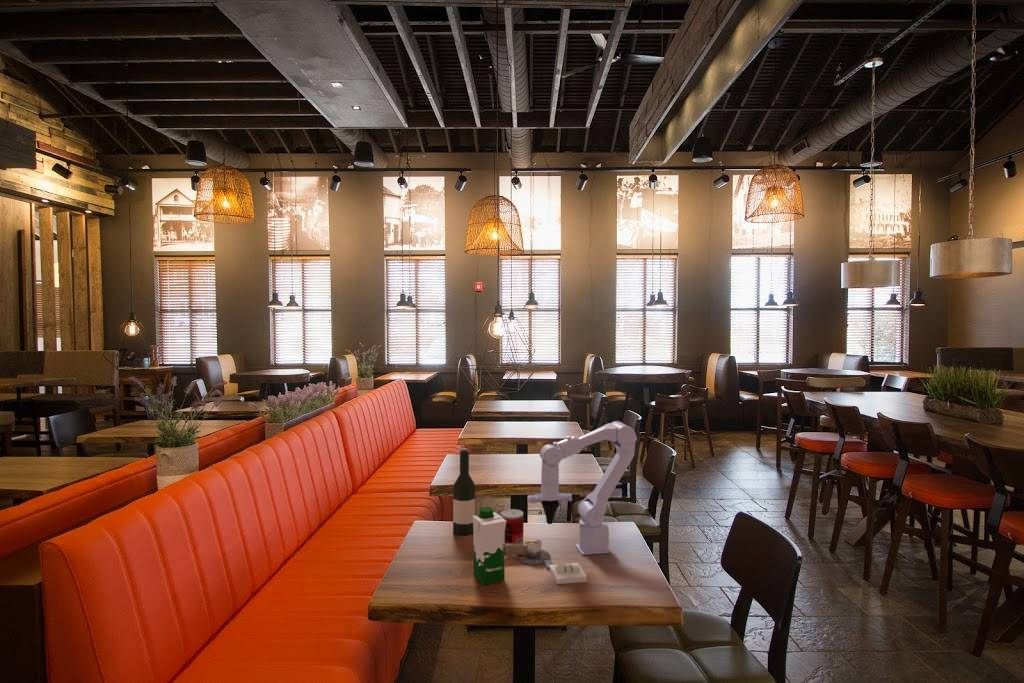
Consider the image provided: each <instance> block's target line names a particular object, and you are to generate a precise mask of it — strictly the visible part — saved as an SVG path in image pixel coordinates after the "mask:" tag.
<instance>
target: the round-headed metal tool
mask: <svg viewBox="0 0 1024 683" xmlns="http://www.w3.org/2000/svg"><path fill="white" fill-rule="evenodd" d="M541 550H542V540H540V539H537V538H528V539H527V540H525V542H523V543H505V544H504V557H505V556H516V555H526V557H528V558H531V559H534V558H540V557H541Z"/></svg>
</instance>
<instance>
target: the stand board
mask: <svg viewBox="0 0 1024 683" xmlns="http://www.w3.org/2000/svg"><path fill="white" fill-rule="evenodd" d="M548 571H549V572H550V573H551V575H552V576H551V577H553V579H554V582H555V583H556V585H562V584H563V585H564V584H573V583H574V584H576V583H585V582H587V581H588V576H587V575H586V573H585V572H584V570H583V569H582V567H581V566H580V564H579V562H574V563H560V564H553V565H549V570H548ZM587 583H588V582H587Z"/></svg>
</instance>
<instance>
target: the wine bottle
mask: <svg viewBox="0 0 1024 683" xmlns="http://www.w3.org/2000/svg"><path fill="white" fill-rule="evenodd" d="M452 487H453V488H452V490H453V491H452V492H453V493H452V494H453V495H452V501H453V502H452V506H453V508H452V534H453V535H456V536H459V537H464V536H465V537H469V536H471V535H473V533H474V532H473V516H476V483H475V482H474V480H473V479H472V477H471V475H470V450H469V449H468V448H465V447H461V449H460V450H459V475H458V477H457V478H456V480H455V482H454V483H453V486H452Z"/></svg>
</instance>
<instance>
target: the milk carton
mask: <svg viewBox="0 0 1024 683" xmlns="http://www.w3.org/2000/svg"><path fill="white" fill-rule="evenodd" d="M505 526H506V520H505V519H503V517H501V514H499V513H497V512H496V511H494V509H493V508H492V507H490V506H483V507H481V508H479V514H475V516H473V532H474V533H473V534H472V535H473V545H472V546H473V547H472V550H473V551H472V553H473V554H472V557H473V558H472V559H473V563H472V564H473V565H472V567H473V568H472V569H473V573H472V574H473V576H474V577H475V578H476V579H477V581H479V583H481V585H482V586H486V585H489V584H494V583H495V584H496V583H500V582H502V581H503V582H504V581H505V580H506V579H505V576H506V575H505V556H504V544H505Z"/></svg>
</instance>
